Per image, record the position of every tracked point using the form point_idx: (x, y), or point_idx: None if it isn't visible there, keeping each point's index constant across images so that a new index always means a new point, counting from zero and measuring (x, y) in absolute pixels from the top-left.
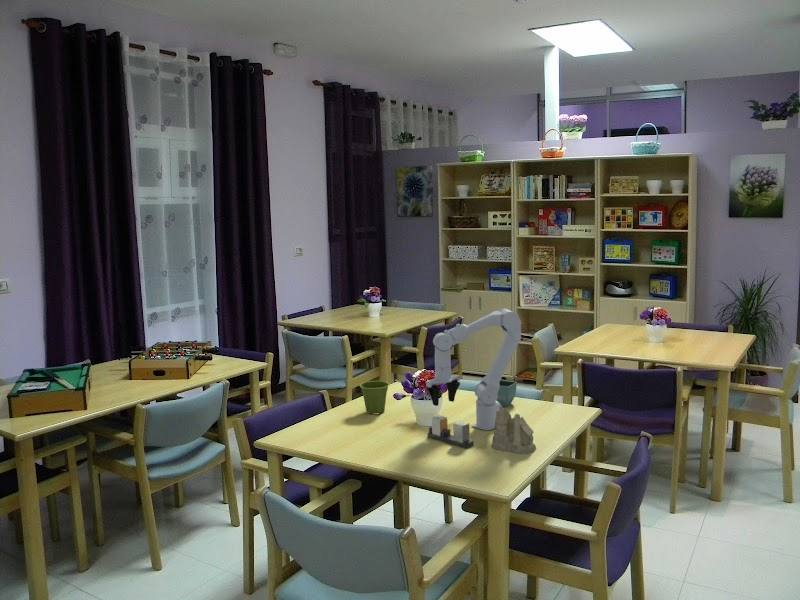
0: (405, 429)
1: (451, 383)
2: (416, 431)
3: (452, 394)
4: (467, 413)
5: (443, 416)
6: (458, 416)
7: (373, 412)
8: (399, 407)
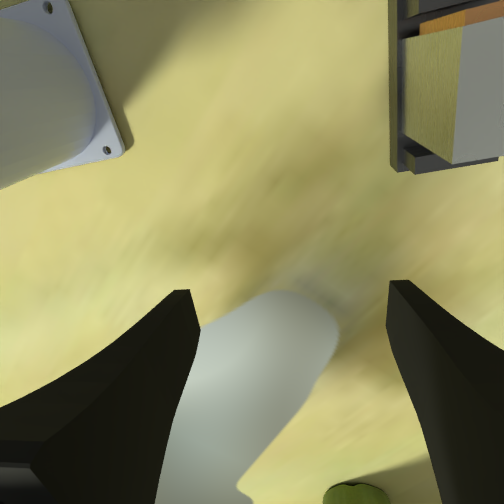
0: None
1: None
2: (426, 268)
3: (161, 347)
4: (60, 323)
5: (458, 89)
6: (114, 316)
7: (383, 496)
8: (258, 484)
